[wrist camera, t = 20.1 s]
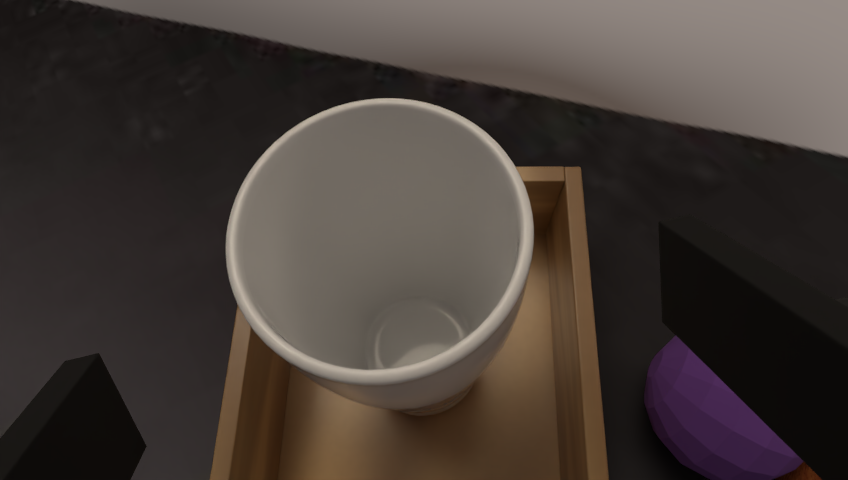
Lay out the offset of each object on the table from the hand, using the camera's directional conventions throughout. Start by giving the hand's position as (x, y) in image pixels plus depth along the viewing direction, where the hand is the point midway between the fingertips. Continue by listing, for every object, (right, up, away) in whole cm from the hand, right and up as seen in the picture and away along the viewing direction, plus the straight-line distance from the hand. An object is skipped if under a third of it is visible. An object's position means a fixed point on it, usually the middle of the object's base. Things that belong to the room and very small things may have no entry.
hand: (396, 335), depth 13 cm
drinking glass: (+1, -3, +13) cm, 13 cm away
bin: (+1, -3, +13) cm, 14 cm away
